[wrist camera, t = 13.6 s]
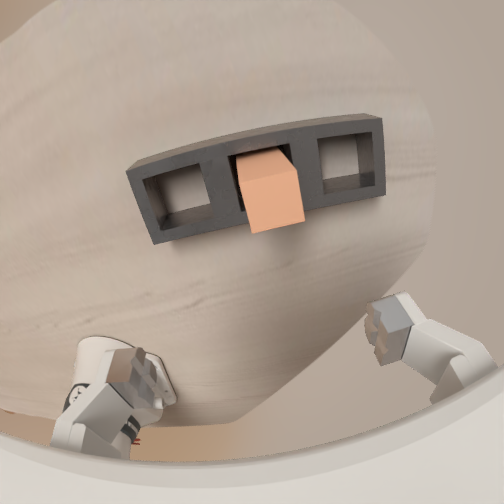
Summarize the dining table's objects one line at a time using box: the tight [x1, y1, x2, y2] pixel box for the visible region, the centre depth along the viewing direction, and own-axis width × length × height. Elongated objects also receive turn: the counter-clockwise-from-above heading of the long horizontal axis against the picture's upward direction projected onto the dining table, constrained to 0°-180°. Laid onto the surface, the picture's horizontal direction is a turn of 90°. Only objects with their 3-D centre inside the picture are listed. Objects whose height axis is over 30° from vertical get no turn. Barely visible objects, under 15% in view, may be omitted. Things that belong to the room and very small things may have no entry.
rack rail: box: [126, 113, 386, 245], centre depth 27 cm, size 8×24×4 cm, turn 102°
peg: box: [236, 146, 305, 233], centre depth 24 cm, size 4×4×10 cm
